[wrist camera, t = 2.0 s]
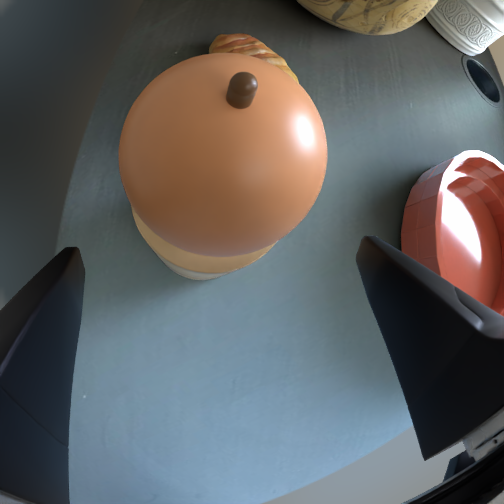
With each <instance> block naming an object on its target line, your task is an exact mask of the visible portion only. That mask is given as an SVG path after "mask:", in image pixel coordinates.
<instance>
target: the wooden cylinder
mask: <svg viewBox="0 0 504 504" xmlns="http://www.w3.org/2000/svg"><path fill="white" fill-rule="evenodd" d="M131 208H132V213H133V217H134V220H135V222H136V225H137V228H138V229H139V231H140V233H141V235H142V236H143V238H144V239H145V241H146V242H147V243H148V245H149V246H150V247H151V248H152V249H153V251H154V252H155V253H156V254H157V255H158V257H159V258H160V259H161V260H162V261H163V262H164V264H165V265H166V266H167V267H168V268H170V269H171V270H172V271H174V272H175V273H177V274H179V275H181V276H183V277H186V278H190V279H194V280H209V279H214V278H218V277H221V276H223V275H226V274H228V273H231V272H233V271H236V270H238V269H241V268H243V267H245V266H247V265H250V264H252V263H253V262H255V261H256V260H258V259H260V258H261V257H262V256H263V255H264V254H266V253H267V252H268V251H269V250H270V249H271V248H272V247H273V246H274V245H275V243H276V242H275V243H273V244H272V245H270V246H267V247H265V248H263V249H261V250H258V251H254V252H251V253H248V254H244V255H238V256H231V257H212V256H203V255H199V254H195V253H191V252H188V251H185V250H183V249H180V248H178V247H176V246H174V245H172V244H170V243H168V242H167V241H165V240H163V239H162V238H161V237H159V236H158V235H157V234H156V233H154V232H153V231H152V230H151V229H150V228H149V227H148V226H147V225H146V224H145V223H144V222H143V221H142V220H141V218H140V217H139V216H138V214H137V213H136V212H135V210H134V209H133V207H132V205H131Z"/></svg>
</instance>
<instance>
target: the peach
mask: <svg viewBox="0 0 504 504" xmlns="http://www.w3.org/2000/svg"><path fill="white" fill-rule="evenodd" d="M326 165H327V143H326V135H325V130H324V127H323V123H322V120H321V118H320V115H319V113H318V111H317V109H316V107H315V105H314V103H313V101H312V100H311V98H310V97H309V95H308V94H307V93H306V91H305V90H304V89H303V88H302V87H301V86H300V85H299V84H298V82H297V81H295V80H294V79H293V78H292V77H291V76H289V75H288V74H287V73H286V72H284V71H283V70H281V69H280V68H278V67H277V66H275V65H273V64H271V63H269V62H267V61H264V60H262V59H259V58H256V57H252V56H249V55H244V54H238V53H212V54H205V55H200V56H196V57H193V58H190V59H187V60H184V61H182V62H180V63H178V64H176V65H174V66H172V67H170V68H169V69H167V70H166V71H164V72H163V73H161V74H160V75H158V76H157V77H156V78H155V79H154V80H153V81H151V82H150V83H149V84H148V85H147V86H146V88H145V89H144V90H143V91H142V92H141V94H140V95H139V96H138V97H137V99H136V100H135V102H134V104H133V105H132V107H131V109H130V111H129V113H128V115H127V118H126V120H125V123H124V125H123V129H122V133H121V137H120V144H119V170H120V175H121V180H122V183H123V186H124V189H125V192H126V195H127V197H128V200H129V201H130V203H131V205H132V207H133V209H134V210H135V212H136V213H137V214H138V216H139V217H140V218H141V220H142V221H143V222H144V223H145V224H146V225H147V226H148V227H149V228H150V229H151V230H152V231H153V232H154V233H156V234H157V235H158V236H159V237H161V238H162V239H163V240H165V241H167V242H168V243H170V244H172V245H174V246H176V247H178V248H180V249H183V250H185V251H188V252H191V253H195V254H199V255H203V256H212V257H231V256H238V255H244V254H248V253H251V252H254V251H258V250H261V249H263V248H265V247H267V246H270V245H272V244H273V243H275V242H277V241H278V240H280V239H281V238H283V237H284V236H285V235H287V234H288V233H289V232H290V231H291V230H293V229H294V228H295V227H296V226H297V225H298V224H299V223H300V222H301V221H302V220H303V219H304V217H305V216H306V215H307V213H308V212H309V210H310V209H311V207H312V206H313V204H314V202H315V201H316V198H317V196H318V194H319V192H320V190H321V187H322V183H323V180H324V176H325V172H326Z"/></svg>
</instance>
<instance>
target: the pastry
mask: <svg viewBox="0 0 504 504" xmlns="http://www.w3.org/2000/svg"><path fill="white" fill-rule="evenodd" d="M209 53H210V54H212V53H238V54H244V55H249V56H252V57H256V58H259V59H262V60H264V61H267V62H269V63H271V64H273V65H275V66H277V67H278V68H280V69H281V70H283V71H284V72H286V73H287V74H288V75H289V76H291V77H292V78H293V79H294V80H295V81H297V82H298V79H297V77H296V75H295V74H294V73H293V72H292V71H291V69H290V68H289V67H288V66H287V64H286V62H285V60H284V59H283V58H282V57H280V56H279V55H278V54H276V53H274V52H273V51H272V50H271V49H270V48H269V47H266V46H265V45H264V44H263V43H262V42H260V41H259V40H257V39H256V38H253V37H251V36H250V35H248V34H230V35H225V34H220V35H219V36H217V37H216V38H215V40H214V41H213V43H212V44H211V46H210V48H209ZM298 84H299V82H298Z"/></svg>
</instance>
